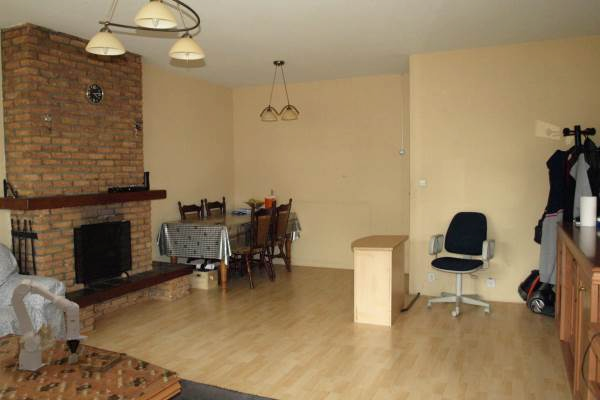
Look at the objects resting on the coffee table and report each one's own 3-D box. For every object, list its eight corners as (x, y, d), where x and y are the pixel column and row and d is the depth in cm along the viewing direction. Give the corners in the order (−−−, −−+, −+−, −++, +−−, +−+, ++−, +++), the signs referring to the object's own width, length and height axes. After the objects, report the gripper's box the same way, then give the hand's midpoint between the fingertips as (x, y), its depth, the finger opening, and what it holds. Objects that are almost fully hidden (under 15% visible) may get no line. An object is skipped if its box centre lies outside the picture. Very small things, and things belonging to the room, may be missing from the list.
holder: (79, 369, 232) (78, 364, 232) (98, 357, 247) (98, 353, 247) (103, 372, 229) (103, 367, 229) (122, 360, 244) (121, 355, 244)
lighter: (69, 365, 238) (71, 351, 236) (67, 363, 239) (69, 349, 237) (82, 360, 243) (85, 347, 242) (81, 358, 244) (83, 345, 243)
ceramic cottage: (60, 341, 271) (57, 316, 269) (44, 353, 254) (41, 326, 253) (33, 342, 271) (30, 317, 269) (15, 354, 255) (12, 328, 253)
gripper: (55, 329, 237) (55, 355, 238) (81, 330, 235) (82, 357, 236) (64, 325, 244) (64, 350, 245) (89, 326, 242) (90, 352, 243)
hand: (73, 353), depth 241 cm, fingers closed
